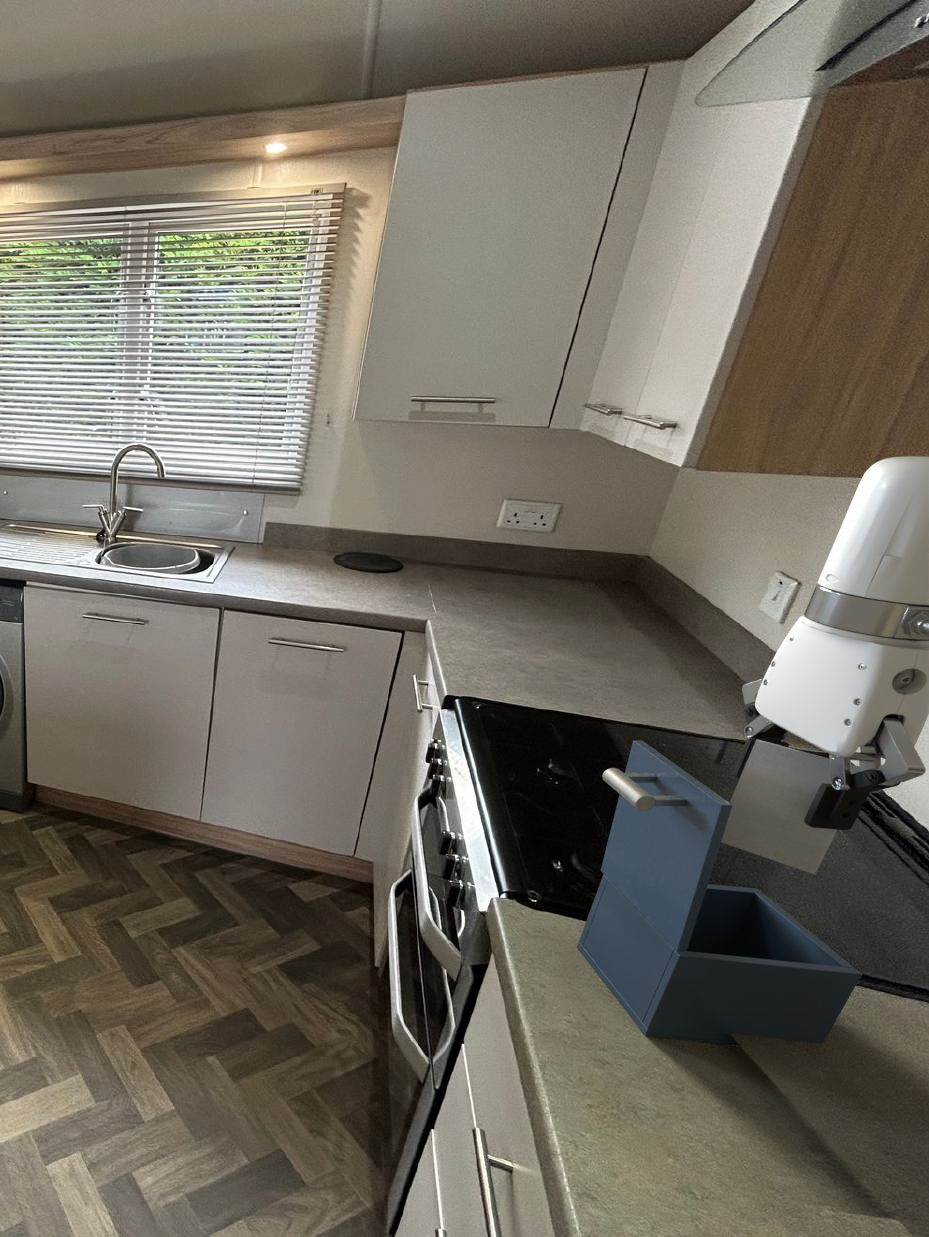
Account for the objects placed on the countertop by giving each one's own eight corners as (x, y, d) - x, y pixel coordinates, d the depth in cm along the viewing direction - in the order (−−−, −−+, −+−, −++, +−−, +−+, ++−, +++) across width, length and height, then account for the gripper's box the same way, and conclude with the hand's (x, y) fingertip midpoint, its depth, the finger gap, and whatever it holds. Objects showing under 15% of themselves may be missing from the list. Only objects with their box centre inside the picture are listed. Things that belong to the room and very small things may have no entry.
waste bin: (722, 962, 77) (757, 888, 74) (816, 1055, 67) (862, 974, 63) (576, 947, 79) (603, 874, 76) (644, 1035, 69) (680, 955, 65)
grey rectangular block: (815, 874, 63) (864, 775, 60) (713, 839, 68) (753, 746, 64) (818, 857, 66) (865, 761, 62) (720, 825, 70) (758, 734, 67)
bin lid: (641, 740, 70) (586, 740, 71) (733, 805, 59) (666, 804, 60) (608, 870, 75) (557, 869, 76) (686, 952, 65) (626, 949, 66)
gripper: (1051, 655, 50) (932, 865, 56) (830, 588, 66) (757, 758, 73) (928, 649, 51) (824, 856, 57) (739, 584, 67) (675, 752, 73)
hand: (787, 800), depth 65 cm, fingers closed on grey rectangular block, 7 cm apart
